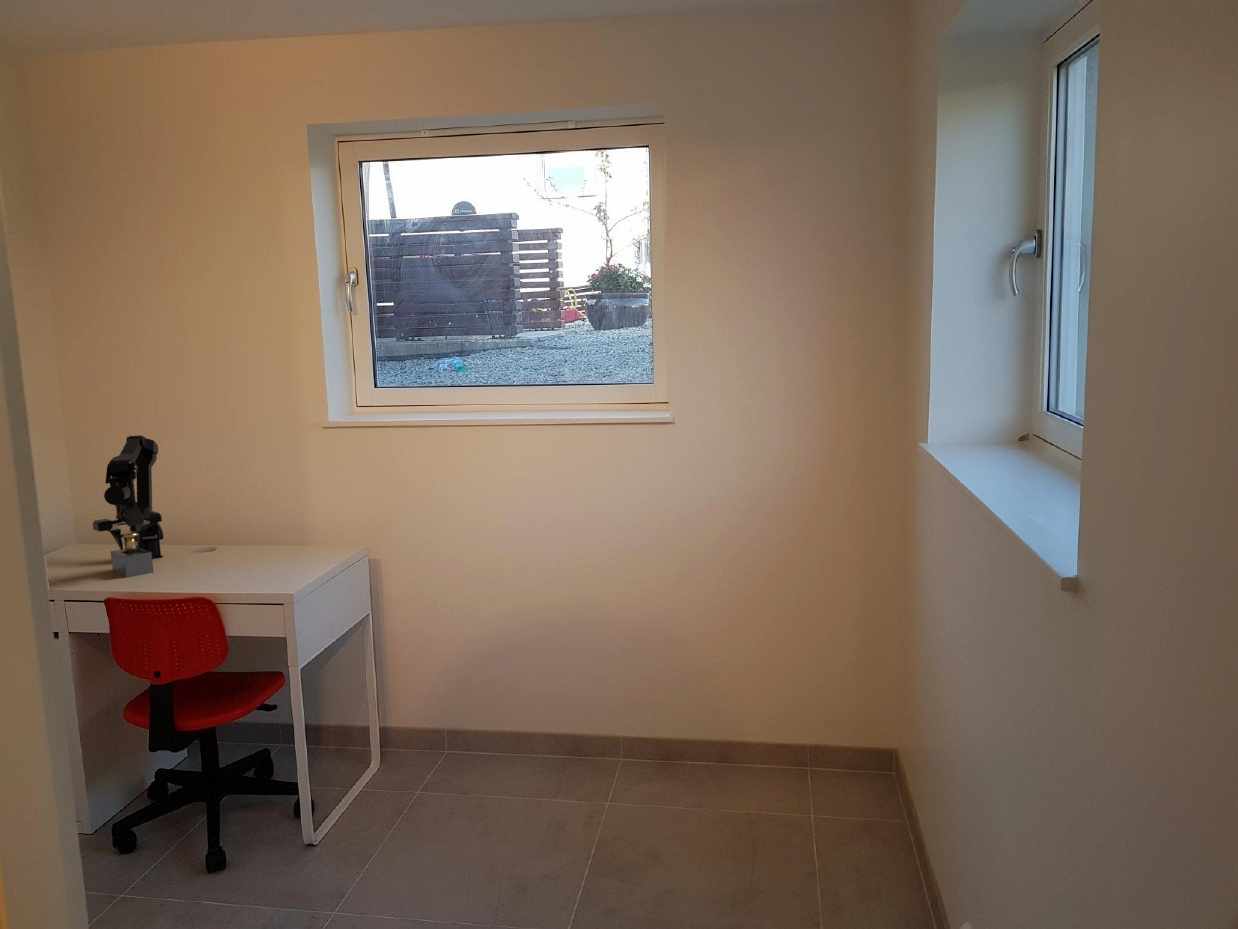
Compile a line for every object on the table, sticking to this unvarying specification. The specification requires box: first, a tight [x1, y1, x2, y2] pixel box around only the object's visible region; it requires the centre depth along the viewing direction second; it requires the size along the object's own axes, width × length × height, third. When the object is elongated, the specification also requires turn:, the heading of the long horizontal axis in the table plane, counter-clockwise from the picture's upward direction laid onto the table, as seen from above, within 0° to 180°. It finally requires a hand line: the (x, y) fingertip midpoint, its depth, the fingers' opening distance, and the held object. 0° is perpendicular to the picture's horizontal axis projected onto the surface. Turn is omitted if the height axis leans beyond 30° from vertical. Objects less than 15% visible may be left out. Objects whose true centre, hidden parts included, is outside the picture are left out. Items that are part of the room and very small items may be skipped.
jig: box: [110, 547, 154, 578], centre depth 311 cm, size 8×12×6 cm, turn 45°
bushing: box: [121, 530, 139, 554], centre depth 310 cm, size 6×6×7 cm
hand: (130, 548), depth 310 cm, fingers closed on bushing, 5 cm apart
